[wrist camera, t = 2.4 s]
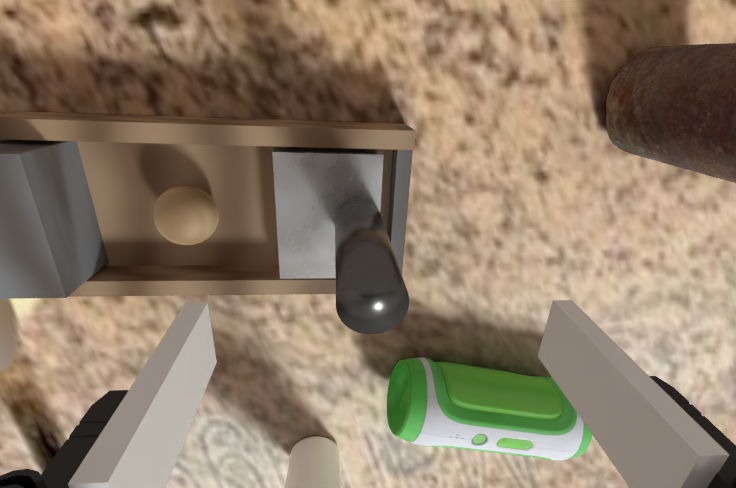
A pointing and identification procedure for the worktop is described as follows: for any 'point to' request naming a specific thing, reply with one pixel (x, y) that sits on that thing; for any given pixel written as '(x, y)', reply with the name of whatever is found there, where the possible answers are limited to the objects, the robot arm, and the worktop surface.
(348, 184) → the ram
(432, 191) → the worktop surface
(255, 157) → the base
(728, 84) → the candle
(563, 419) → the speaker
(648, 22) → the worktop surface
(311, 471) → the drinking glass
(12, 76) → the worktop surface
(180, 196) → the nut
